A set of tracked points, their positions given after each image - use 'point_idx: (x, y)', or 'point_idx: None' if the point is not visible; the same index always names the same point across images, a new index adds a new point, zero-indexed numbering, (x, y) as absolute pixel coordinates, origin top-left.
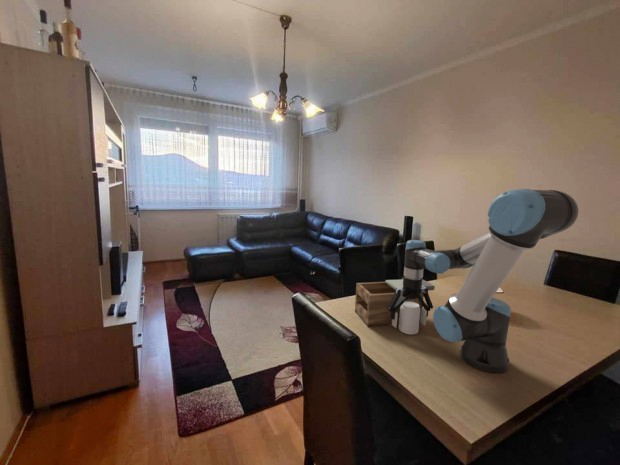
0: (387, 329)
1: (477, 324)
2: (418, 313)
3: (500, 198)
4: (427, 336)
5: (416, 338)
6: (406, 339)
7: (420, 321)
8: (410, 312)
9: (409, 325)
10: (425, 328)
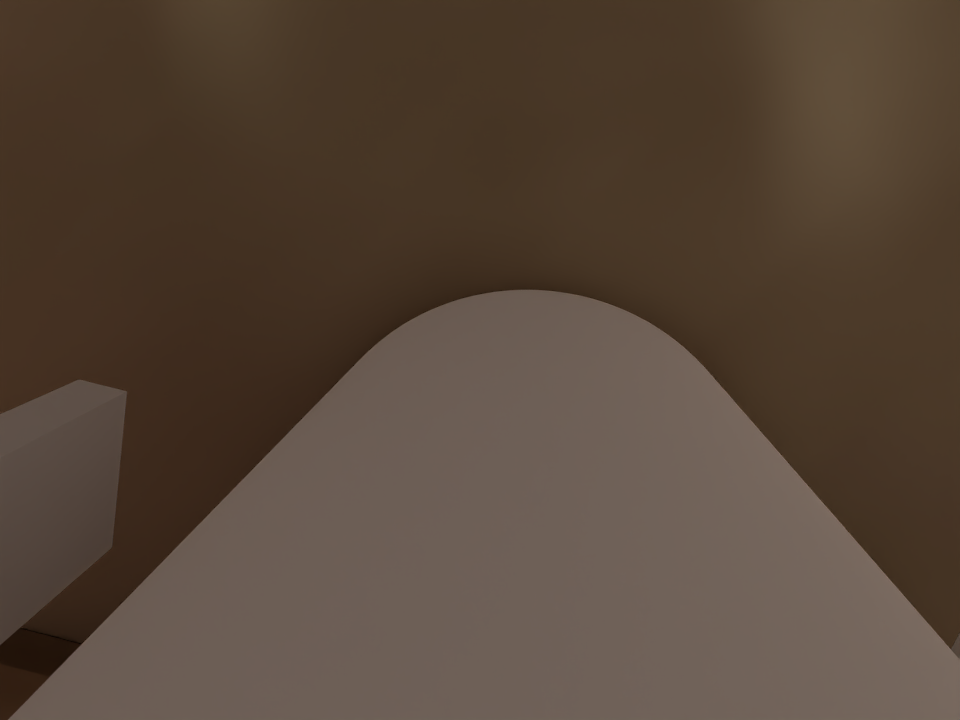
0: None
1: None
2: (329, 611)
3: None
4: (288, 128)
5: (612, 160)
6: (878, 220)
7: (8, 650)
8: None
9: (756, 427)
10: None
